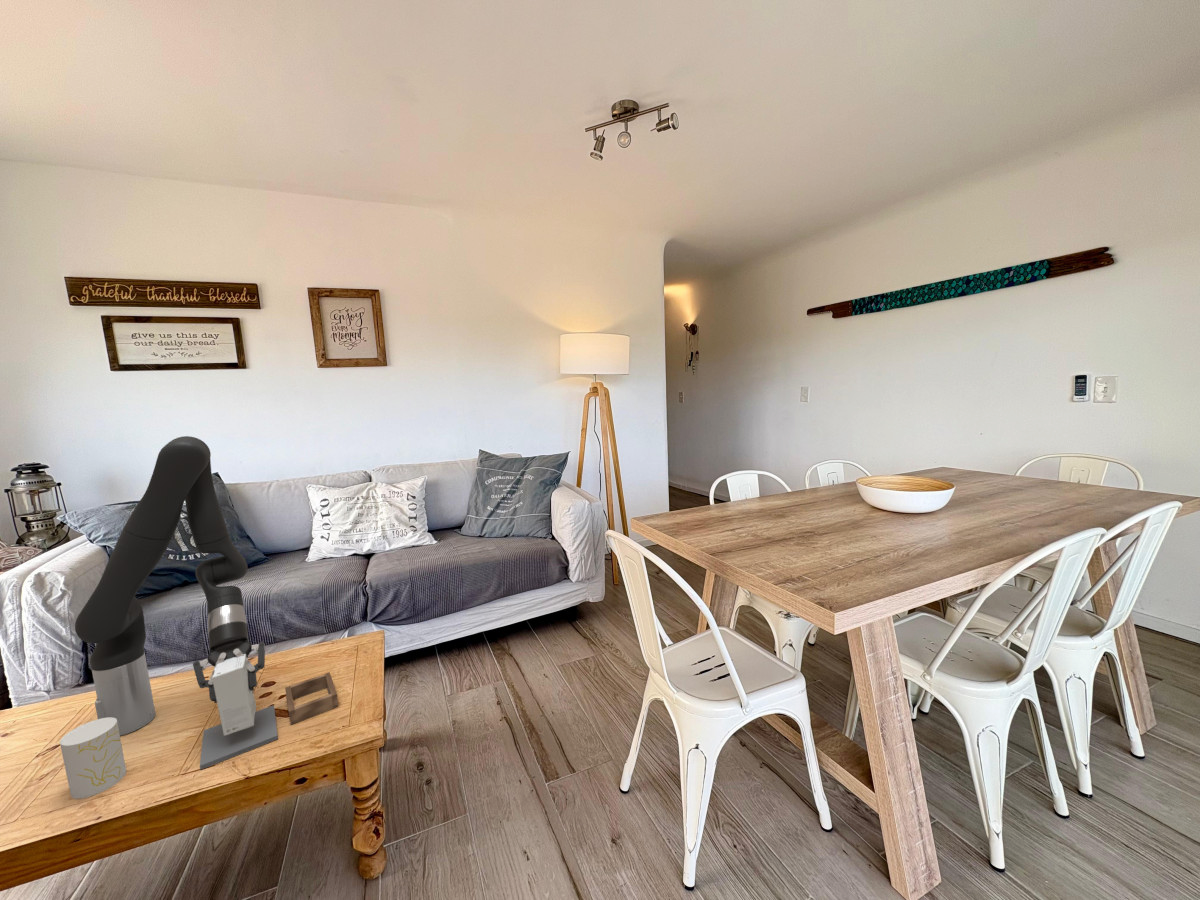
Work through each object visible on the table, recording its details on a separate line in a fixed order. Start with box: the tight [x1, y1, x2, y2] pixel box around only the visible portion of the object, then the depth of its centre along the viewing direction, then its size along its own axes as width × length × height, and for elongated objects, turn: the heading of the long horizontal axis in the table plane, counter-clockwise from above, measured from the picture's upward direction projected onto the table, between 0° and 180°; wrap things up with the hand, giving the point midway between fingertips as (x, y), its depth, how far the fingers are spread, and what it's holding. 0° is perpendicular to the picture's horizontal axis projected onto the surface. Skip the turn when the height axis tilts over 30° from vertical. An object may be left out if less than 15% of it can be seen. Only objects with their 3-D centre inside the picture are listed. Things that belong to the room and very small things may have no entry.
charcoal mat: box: [199, 704, 279, 771], centre depth 112 cm, size 14×14×1 cm
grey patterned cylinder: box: [59, 717, 127, 800], centre depth 99 cm, size 8×8×12 cm
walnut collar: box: [284, 672, 339, 726], centre depth 123 cm, size 10×12×4 cm
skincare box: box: [212, 654, 257, 736], centre depth 110 cm, size 8×6×15 cm
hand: (234, 695), depth 109 cm, fingers closed on skincare box, 6 cm apart
